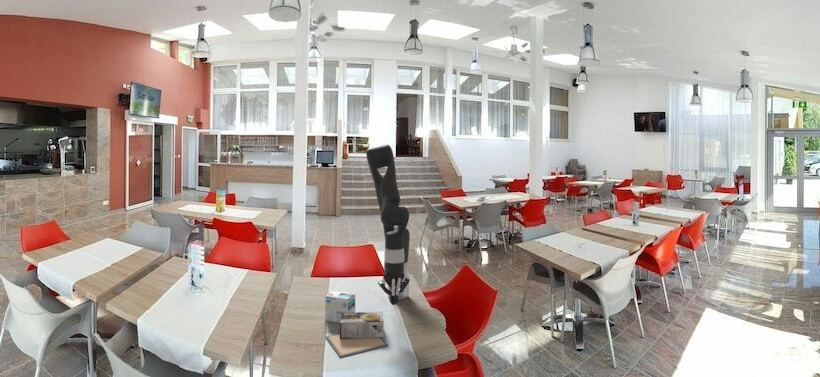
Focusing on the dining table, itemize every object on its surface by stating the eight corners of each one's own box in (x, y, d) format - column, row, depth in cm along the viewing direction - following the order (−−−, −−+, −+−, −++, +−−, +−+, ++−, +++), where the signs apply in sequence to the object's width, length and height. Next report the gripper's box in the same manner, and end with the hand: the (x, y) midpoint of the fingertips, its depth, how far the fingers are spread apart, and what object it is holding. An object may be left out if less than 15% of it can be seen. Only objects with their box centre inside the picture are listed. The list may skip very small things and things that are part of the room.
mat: (370, 327, 153) (370, 326, 153) (388, 345, 140) (388, 344, 140) (325, 337, 145) (325, 336, 145) (339, 357, 131) (339, 356, 131)
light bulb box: (355, 318, 162) (356, 293, 161) (348, 325, 155) (348, 299, 154) (333, 314, 165) (333, 289, 164) (324, 321, 159) (324, 295, 158)
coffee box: (382, 327, 153) (341, 328, 152) (383, 311, 153) (341, 312, 151) (383, 338, 144) (339, 339, 143) (383, 321, 144) (339, 322, 142)
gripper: (405, 255, 153) (404, 297, 155) (374, 259, 147) (373, 303, 148) (414, 259, 147) (413, 304, 148) (382, 264, 140) (382, 311, 142)
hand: (393, 304), depth 148 cm, fingers closed
